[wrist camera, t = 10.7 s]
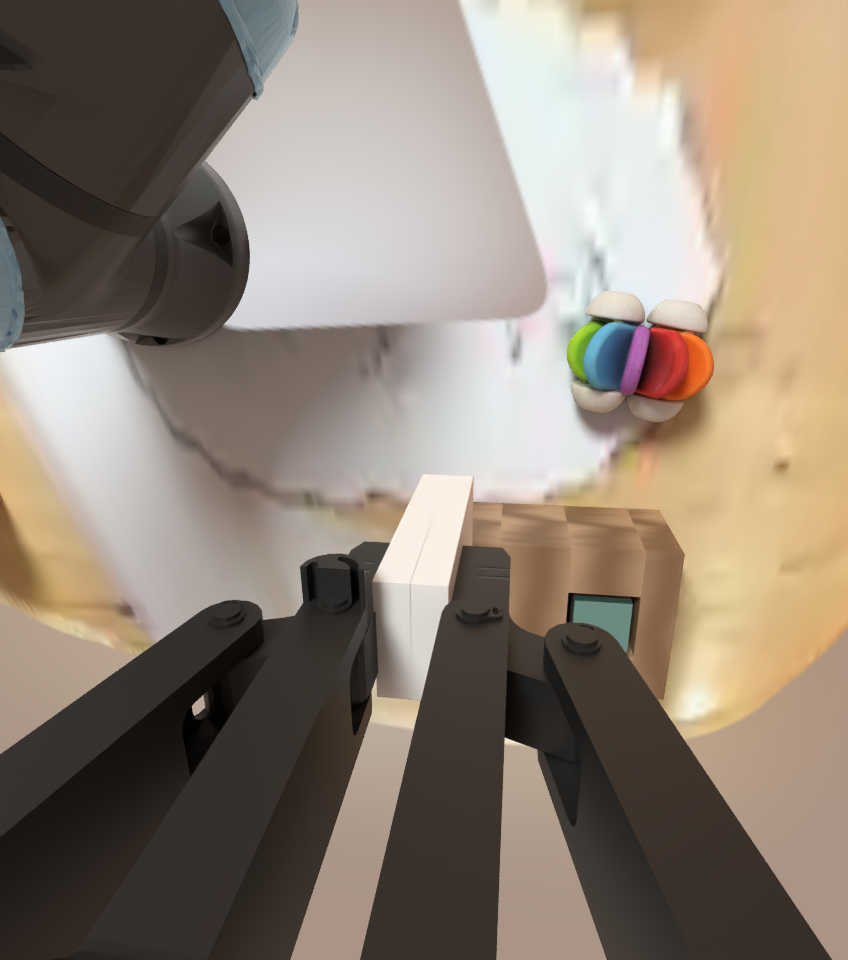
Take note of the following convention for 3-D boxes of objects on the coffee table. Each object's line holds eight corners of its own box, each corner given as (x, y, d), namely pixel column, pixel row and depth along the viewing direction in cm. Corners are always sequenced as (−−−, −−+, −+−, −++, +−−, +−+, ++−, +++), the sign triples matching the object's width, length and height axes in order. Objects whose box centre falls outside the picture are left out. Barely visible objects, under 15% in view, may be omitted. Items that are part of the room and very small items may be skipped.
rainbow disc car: (680, 419, 46) (708, 445, 39) (553, 398, 47) (559, 420, 40) (714, 305, 43) (751, 312, 36) (578, 284, 44) (589, 287, 37)
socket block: (416, 621, 55) (400, 676, 47) (414, 499, 51) (396, 539, 44) (642, 637, 52) (663, 699, 45) (659, 510, 48) (684, 554, 41)
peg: (563, 593, 52) (570, 648, 44) (566, 551, 50) (574, 600, 43) (611, 596, 51) (627, 652, 43) (615, 553, 50) (632, 604, 42)
